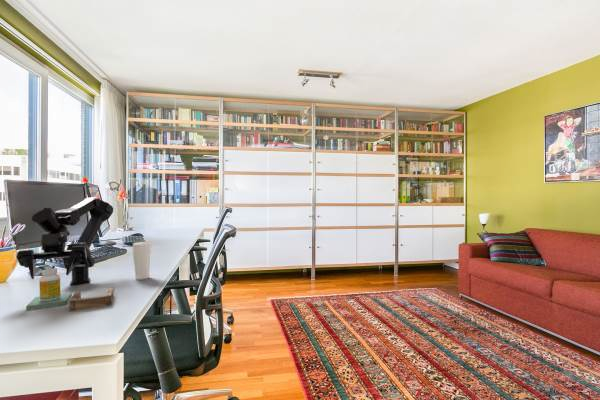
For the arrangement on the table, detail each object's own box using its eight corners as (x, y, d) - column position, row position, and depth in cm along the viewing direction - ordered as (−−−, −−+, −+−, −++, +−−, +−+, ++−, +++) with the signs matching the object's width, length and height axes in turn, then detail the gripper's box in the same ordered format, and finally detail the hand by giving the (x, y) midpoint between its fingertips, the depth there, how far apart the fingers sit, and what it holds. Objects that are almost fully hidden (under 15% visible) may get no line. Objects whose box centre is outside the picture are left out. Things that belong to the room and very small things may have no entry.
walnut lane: (75, 301, 106) (75, 292, 106) (113, 295, 111) (113, 287, 111) (69, 311, 97) (69, 301, 97) (111, 305, 102) (110, 295, 102)
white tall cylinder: (137, 276, 137) (136, 242, 137) (153, 276, 137) (152, 241, 137) (130, 280, 130) (129, 244, 130) (147, 280, 131) (146, 244, 130)
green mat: (35, 300, 107) (35, 297, 107) (71, 295, 112) (71, 292, 112) (26, 310, 98) (26, 306, 98) (65, 304, 103) (65, 300, 103)
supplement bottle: (49, 302, 102) (48, 271, 102) (35, 301, 103) (34, 271, 103) (64, 296, 107) (63, 268, 107) (51, 295, 108) (50, 267, 108)
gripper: (16, 226, 105) (5, 266, 95) (84, 223, 113) (80, 259, 104) (25, 246, 112) (15, 285, 103) (88, 242, 121) (85, 277, 111)
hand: (50, 276), depth 105 cm, fingers open, 9 cm apart
